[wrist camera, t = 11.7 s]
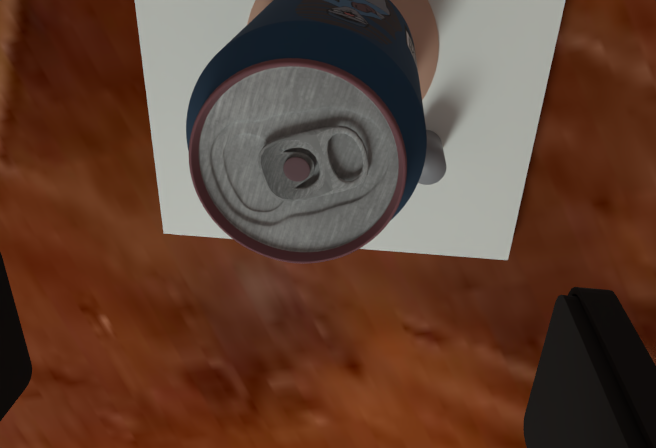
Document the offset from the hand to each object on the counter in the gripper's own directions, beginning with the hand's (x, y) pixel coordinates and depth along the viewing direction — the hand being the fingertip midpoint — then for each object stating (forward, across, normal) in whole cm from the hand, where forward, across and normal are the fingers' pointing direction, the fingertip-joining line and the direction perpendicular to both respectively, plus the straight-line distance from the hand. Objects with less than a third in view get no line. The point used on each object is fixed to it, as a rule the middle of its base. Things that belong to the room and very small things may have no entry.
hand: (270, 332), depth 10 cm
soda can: (+18, +1, 0) cm, 18 cm away
